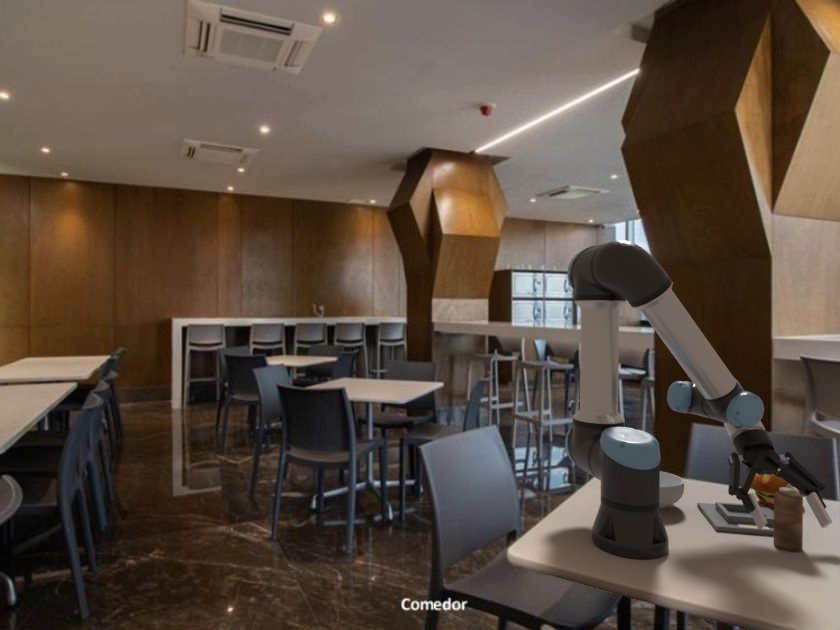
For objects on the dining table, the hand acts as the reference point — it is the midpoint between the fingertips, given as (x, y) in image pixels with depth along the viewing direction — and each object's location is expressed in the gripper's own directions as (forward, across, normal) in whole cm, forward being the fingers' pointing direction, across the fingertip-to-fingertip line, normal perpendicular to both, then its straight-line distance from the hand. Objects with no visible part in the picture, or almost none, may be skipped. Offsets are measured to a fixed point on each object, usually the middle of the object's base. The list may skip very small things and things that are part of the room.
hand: (795, 525), depth 113 cm
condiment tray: (-8, 0, -15) cm, 17 cm away
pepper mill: (+2, 0, -5) cm, 5 cm away
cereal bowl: (-16, +18, -24) cm, 34 cm away
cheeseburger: (-16, -15, -23) cm, 32 cm away
